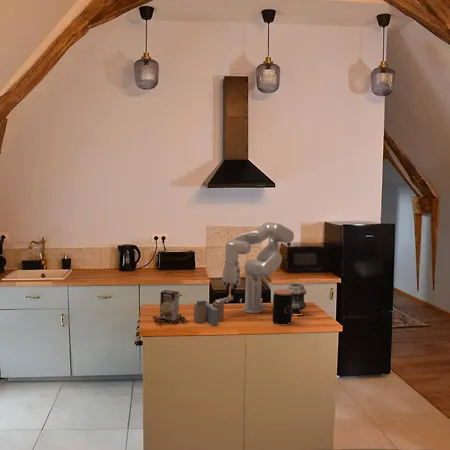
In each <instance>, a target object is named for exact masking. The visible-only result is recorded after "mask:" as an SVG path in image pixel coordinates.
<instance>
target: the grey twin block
mask: <svg viewBox="0 0 450 450" xmlns="http://www.w3.org/2000/svg"><path fill="white" fill-rule="evenodd" d="M224 310H225V303H224V302H223V303H221V304H216V303H215V302H212V304H211V303H209V302H208V301H207V300H196V303H194V305H193V322H194V323H196V324H203V323H205V324H206V322H207V323H208V324H209V325H210V326H212V327H217V326H219V324H218V322H224V319H225V316H224V314H225V313H224V312H225V311H224Z"/></svg>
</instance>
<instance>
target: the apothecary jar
mask: <svg viewBox="0 0 450 450" xmlns="http://www.w3.org/2000/svg"><path fill="white" fill-rule="evenodd" d="M286 290H289V291H292V314H301V313H303V312H302V310H305V308H306V307H307V304H306V302H305V295H306V294H307V290H306V288H305V286H304V285H303V284H301V283H290V284H289V286H288V288H287V289H286Z"/></svg>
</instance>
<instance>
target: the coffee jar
mask: <svg viewBox="0 0 450 450" xmlns="http://www.w3.org/2000/svg"><path fill="white" fill-rule="evenodd" d="M272 300H273V301H272V320H271V321H272V323H273V322H274V324H275V323H278V324H288V323H290V324H291V322H292V317H293V316H292V291H289V290H287V289H274V290H273V299H272Z"/></svg>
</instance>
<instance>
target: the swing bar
mask: <svg viewBox="0 0 450 450" xmlns="http://www.w3.org/2000/svg"><path fill="white" fill-rule="evenodd" d="M231 289H232V285H230V286H229V294H228V296H226V297H223V298H219V299H215V301H214V303H216V304H221V303H223V304H224V303H227V302H230V301H233V300H234V295H232V296H231Z"/></svg>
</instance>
